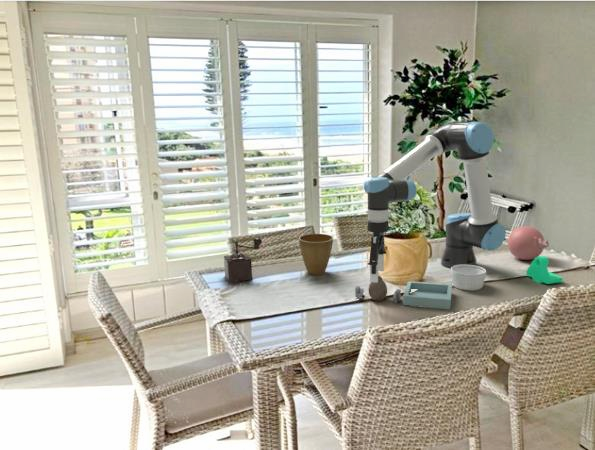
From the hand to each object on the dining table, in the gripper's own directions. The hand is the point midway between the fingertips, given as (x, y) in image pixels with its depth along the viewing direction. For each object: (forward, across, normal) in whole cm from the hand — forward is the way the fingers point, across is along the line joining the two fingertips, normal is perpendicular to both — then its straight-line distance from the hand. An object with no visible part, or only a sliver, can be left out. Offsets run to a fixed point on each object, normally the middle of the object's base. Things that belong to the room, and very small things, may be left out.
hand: (377, 276), depth 189 cm
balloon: (+8, -62, +58) cm, 86 cm away
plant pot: (+9, -25, -31) cm, 41 cm away
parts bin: (+9, -4, +18) cm, 21 cm away
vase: (+9, 0, 0) cm, 9 cm away
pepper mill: (+10, -12, -60) cm, 62 cm away
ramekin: (+9, -22, +32) cm, 40 cm away
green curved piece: (+8, -36, +62) cm, 72 cm away
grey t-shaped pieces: (+9, 0, 0) cm, 9 cm away
